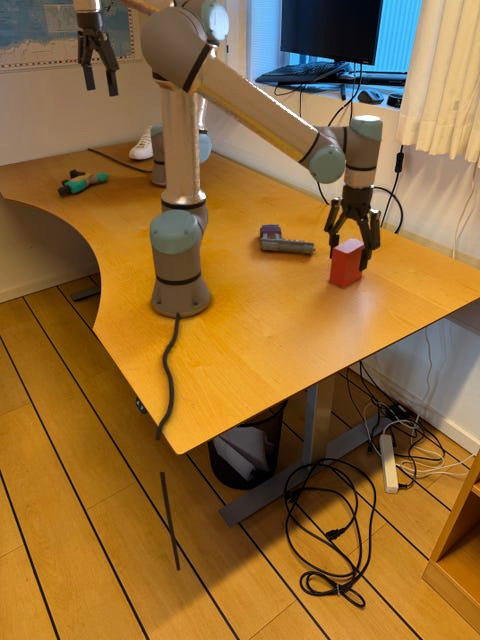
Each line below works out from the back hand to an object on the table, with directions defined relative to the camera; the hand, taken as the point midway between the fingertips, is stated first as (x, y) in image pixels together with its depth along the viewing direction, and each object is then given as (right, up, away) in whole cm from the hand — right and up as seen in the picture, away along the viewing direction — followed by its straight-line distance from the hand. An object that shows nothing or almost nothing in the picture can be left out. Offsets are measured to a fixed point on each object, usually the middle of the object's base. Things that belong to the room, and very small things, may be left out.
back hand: (102, 93), depth 148 cm
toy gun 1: (-24, -16, +47) cm, 56 cm away
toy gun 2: (+58, -47, +3) cm, 75 cm away
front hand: (+73, -55, -17) cm, 93 cm away
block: (+73, -59, -14) cm, 95 cm away
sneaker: (-2, +9, +82) cm, 83 cm away
